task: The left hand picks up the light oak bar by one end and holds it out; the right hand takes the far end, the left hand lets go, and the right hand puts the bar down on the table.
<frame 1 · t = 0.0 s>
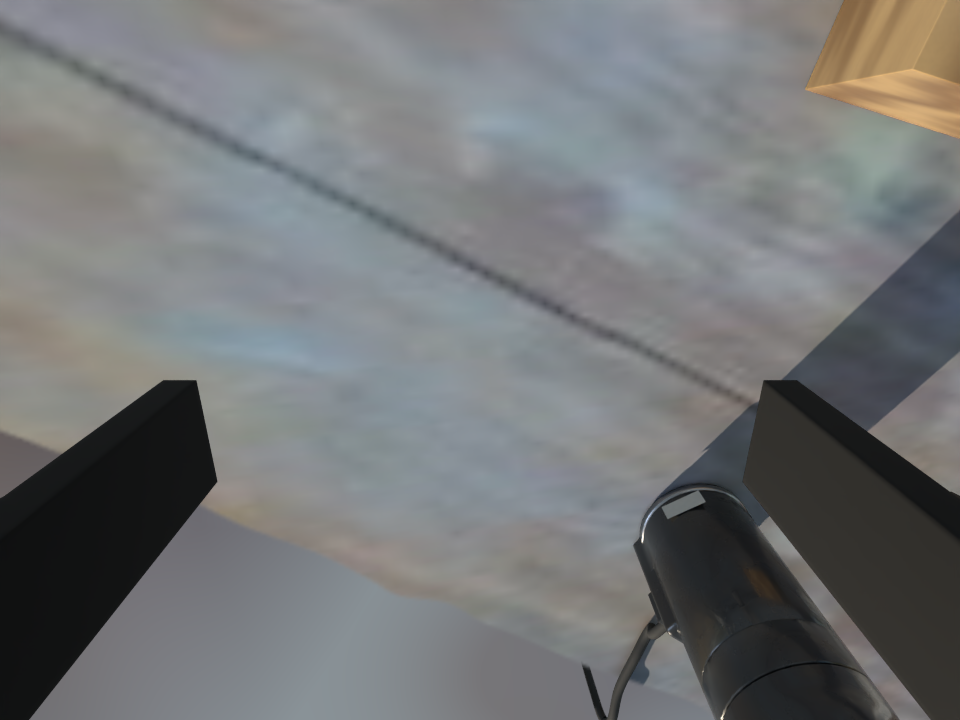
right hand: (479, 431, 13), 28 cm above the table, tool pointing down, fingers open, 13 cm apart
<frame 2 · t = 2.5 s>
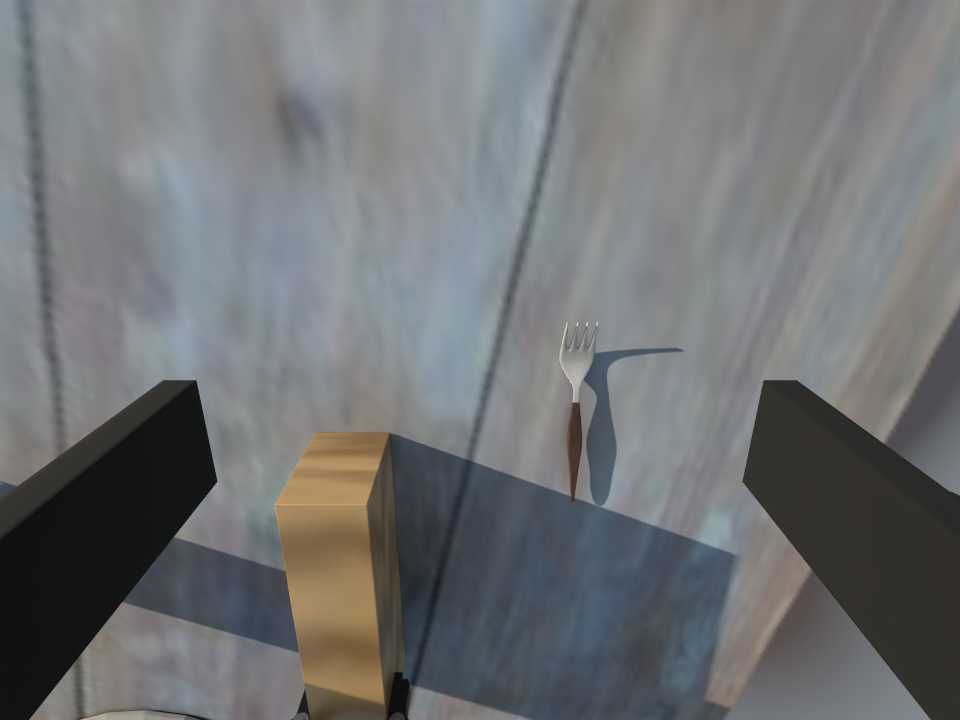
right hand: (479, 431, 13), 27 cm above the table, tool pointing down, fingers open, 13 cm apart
bar: (364, 554, 48), on the table, touching left hand
fork: (574, 411, 42), on the table
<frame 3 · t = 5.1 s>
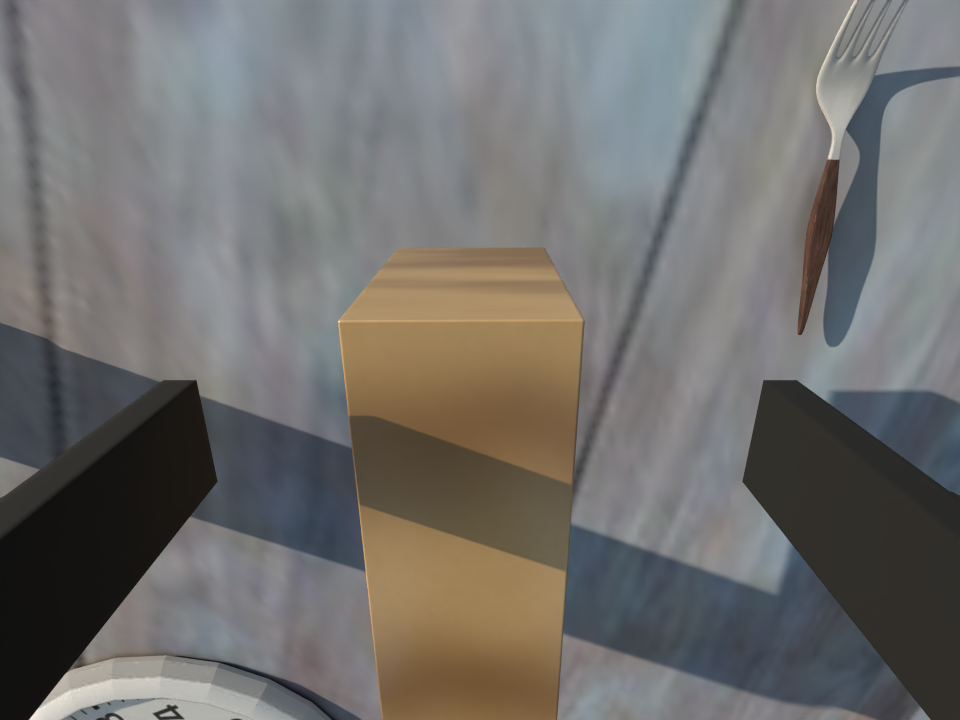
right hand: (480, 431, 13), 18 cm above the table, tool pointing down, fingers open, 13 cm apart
bar: (474, 501, 26), point 7 cm above the table, touching left hand
fork: (820, 182, 28), on the table
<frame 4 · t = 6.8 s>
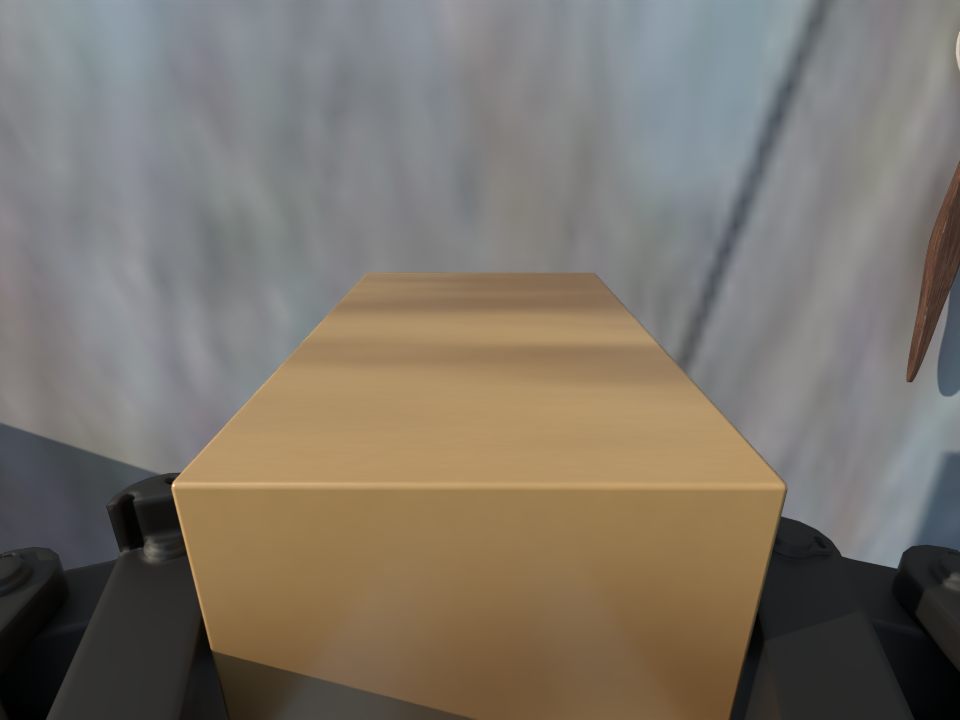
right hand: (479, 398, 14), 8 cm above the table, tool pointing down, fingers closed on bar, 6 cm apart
bar: (480, 629, 18), point 7 cm above the table, touching right hand, left hand
fork: (949, 178, 20), on the table
when the left hand's fingers open (13 cm above the table, at t = 7.8 s): bar stays where it is, held by the right hand.
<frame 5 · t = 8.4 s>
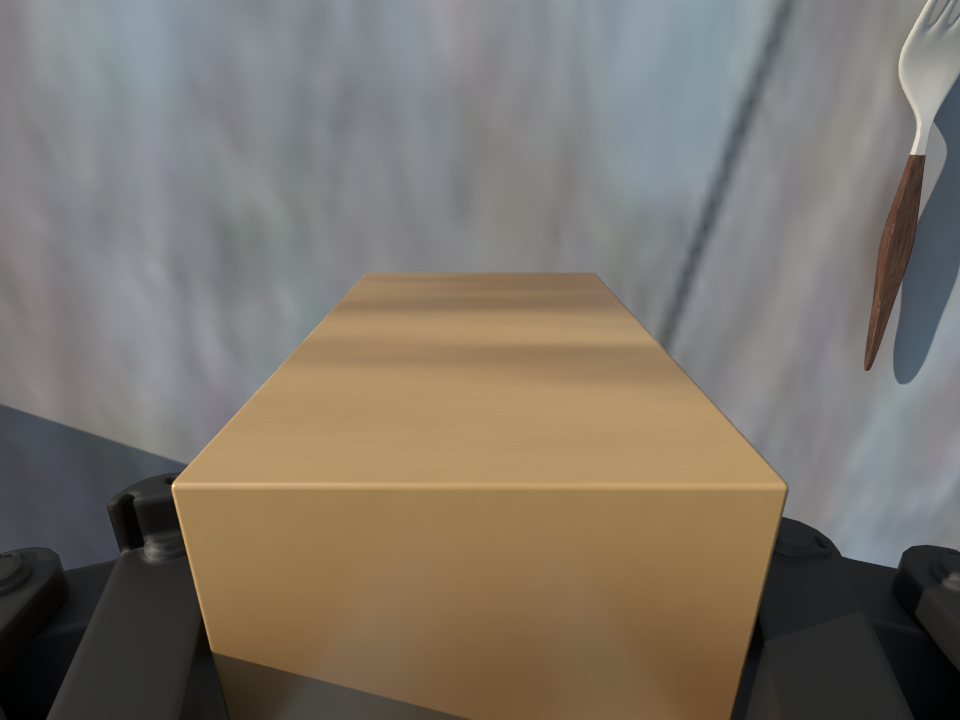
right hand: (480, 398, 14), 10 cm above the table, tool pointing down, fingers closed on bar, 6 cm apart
bar: (480, 629, 18), point 9 cm above the table, touching right hand
fork: (897, 184, 22), on the table
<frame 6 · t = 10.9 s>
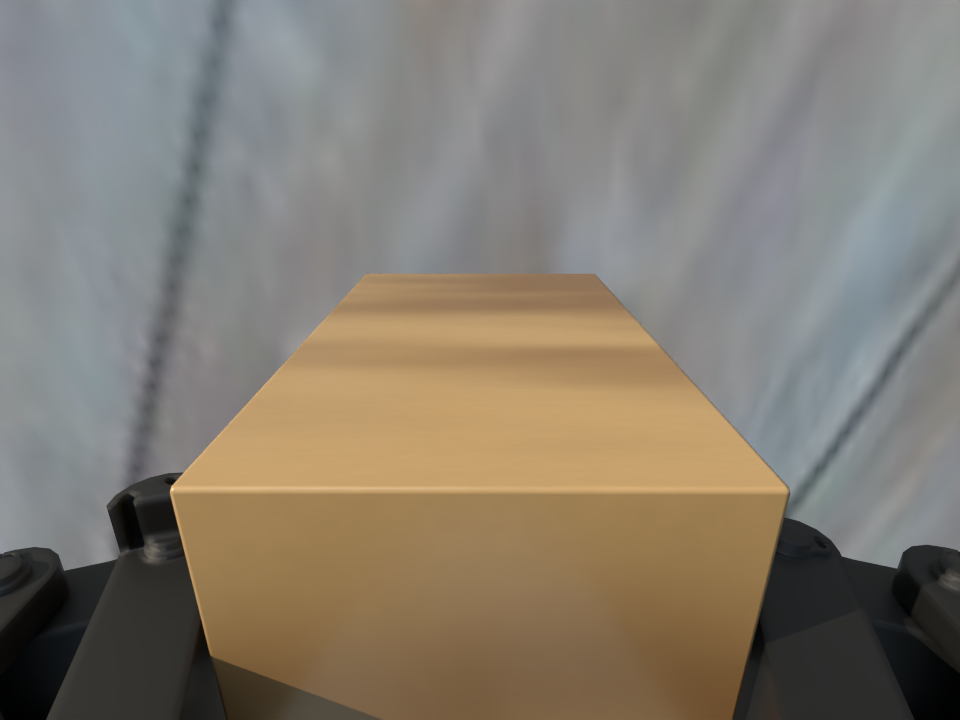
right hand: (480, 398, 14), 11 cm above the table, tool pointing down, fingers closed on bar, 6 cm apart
bar: (480, 630, 18), point 10 cm above the table, touching right hand
when the right hand's fingers open (2 cm above the table, at t = 15.1 s): bar drops 1 cm, on the table.
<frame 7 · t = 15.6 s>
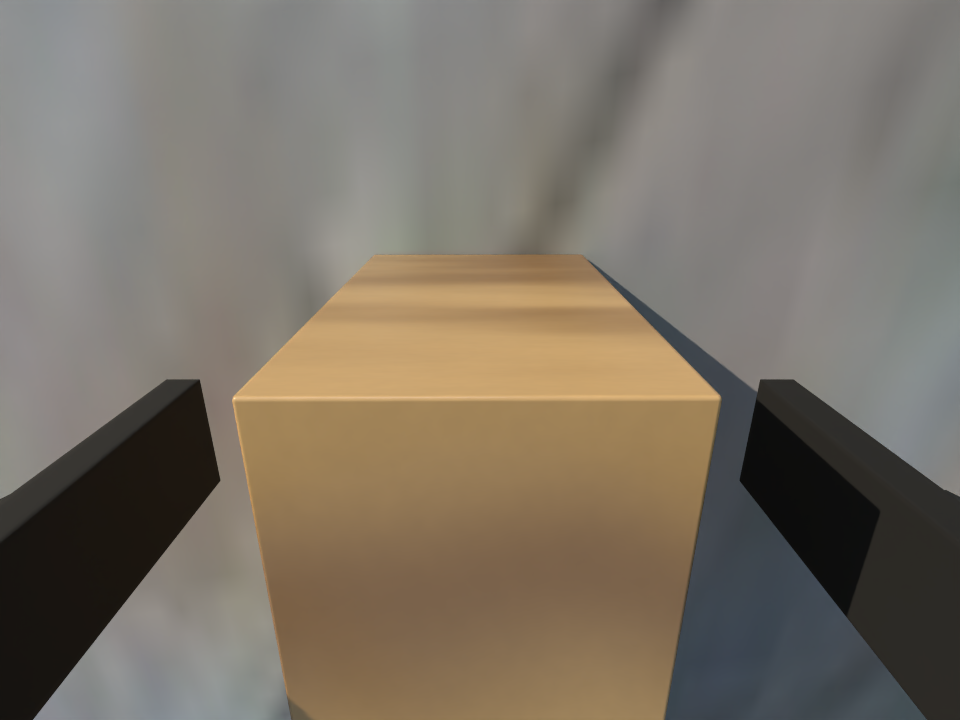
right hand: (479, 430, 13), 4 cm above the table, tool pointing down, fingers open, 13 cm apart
bar: (479, 591, 20), on the table
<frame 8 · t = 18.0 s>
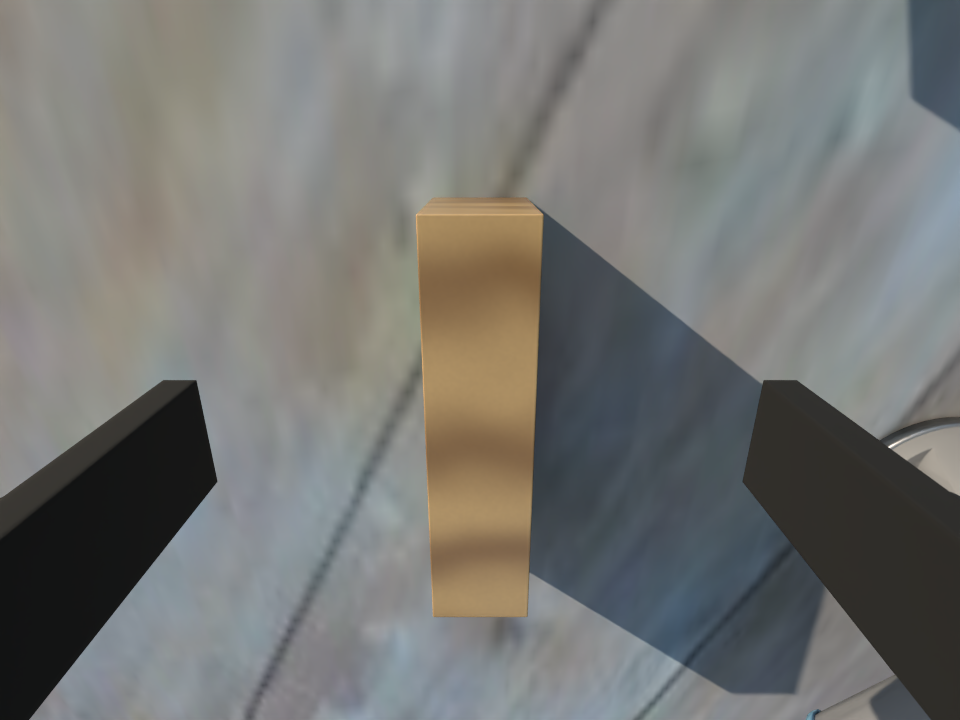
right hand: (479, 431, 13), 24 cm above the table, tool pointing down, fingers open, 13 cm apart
bar: (480, 378, 38), on the table
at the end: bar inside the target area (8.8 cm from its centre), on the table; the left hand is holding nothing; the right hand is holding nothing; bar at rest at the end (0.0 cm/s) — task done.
